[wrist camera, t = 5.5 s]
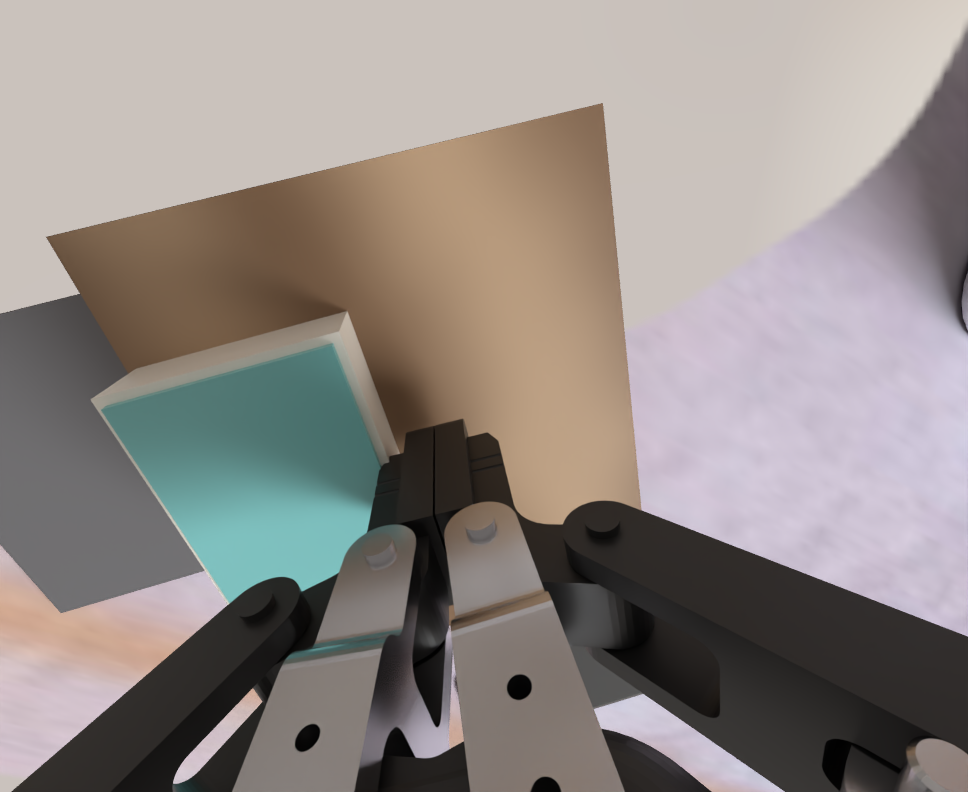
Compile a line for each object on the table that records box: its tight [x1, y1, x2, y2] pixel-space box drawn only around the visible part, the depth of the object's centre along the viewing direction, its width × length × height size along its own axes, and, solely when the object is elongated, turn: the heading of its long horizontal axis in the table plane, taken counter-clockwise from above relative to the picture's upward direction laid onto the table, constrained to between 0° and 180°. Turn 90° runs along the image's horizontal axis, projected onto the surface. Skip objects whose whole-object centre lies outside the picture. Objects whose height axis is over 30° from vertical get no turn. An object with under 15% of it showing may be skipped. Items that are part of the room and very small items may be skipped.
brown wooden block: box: [46, 103, 641, 626], centre depth 16 cm, size 12×14×8 cm
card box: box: [91, 311, 400, 605], centre depth 12 cm, size 5×8×2 cm, turn 13°
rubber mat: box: [0, 294, 205, 613], centre depth 19 cm, size 13×13×1 cm
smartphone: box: [457, 645, 643, 709], centre depth 31 cm, size 7×1×15 cm
